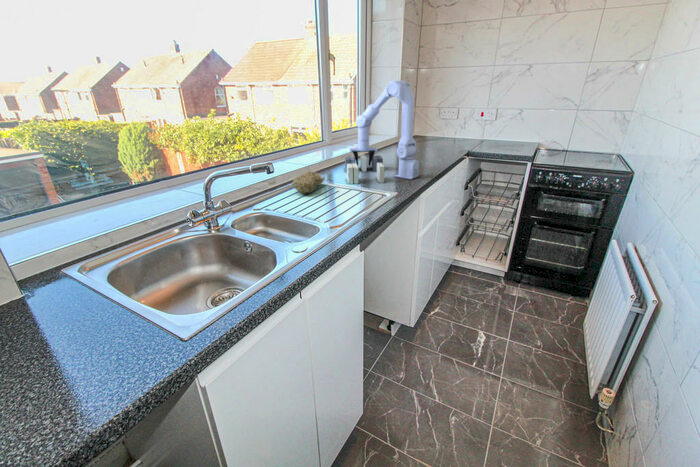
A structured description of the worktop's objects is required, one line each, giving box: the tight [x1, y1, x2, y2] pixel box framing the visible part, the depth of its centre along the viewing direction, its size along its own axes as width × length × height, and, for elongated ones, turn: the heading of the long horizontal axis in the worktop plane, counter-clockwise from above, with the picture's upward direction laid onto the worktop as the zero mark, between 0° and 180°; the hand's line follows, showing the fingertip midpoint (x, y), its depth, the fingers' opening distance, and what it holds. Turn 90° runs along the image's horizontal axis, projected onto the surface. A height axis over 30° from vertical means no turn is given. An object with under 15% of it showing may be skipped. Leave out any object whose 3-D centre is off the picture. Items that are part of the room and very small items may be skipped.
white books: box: [346, 162, 385, 185], centre depth 156 cm, size 17×9×8 cm, turn 94°
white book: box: [360, 153, 368, 173], centre depth 177 cm, size 2×9×8 cm, turn 4°
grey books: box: [344, 155, 384, 173], centre depth 177 cm, size 19×9×6 cm, turn 94°
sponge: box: [292, 171, 325, 194], centre depth 143 cm, size 13×8×20 cm
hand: (363, 165), depth 178 cm, fingers closed on grey books, 6 cm apart
